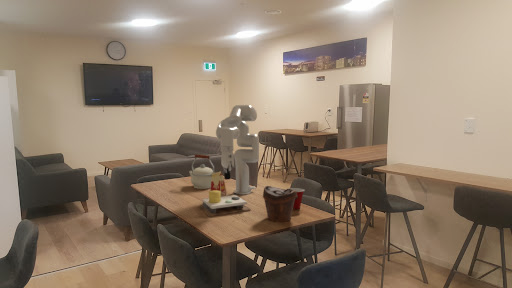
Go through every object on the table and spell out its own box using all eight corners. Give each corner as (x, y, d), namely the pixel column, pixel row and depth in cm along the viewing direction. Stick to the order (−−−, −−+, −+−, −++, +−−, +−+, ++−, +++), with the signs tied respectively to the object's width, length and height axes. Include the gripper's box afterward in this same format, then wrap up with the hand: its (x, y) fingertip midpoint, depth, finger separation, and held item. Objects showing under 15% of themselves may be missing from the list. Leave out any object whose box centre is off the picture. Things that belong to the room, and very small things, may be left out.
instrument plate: (235, 197, 232) (235, 185, 231) (246, 204, 216) (246, 192, 215) (202, 201, 222) (202, 189, 222) (211, 209, 206) (211, 196, 205)
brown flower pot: (303, 221, 196) (303, 189, 194) (268, 225, 191) (268, 192, 189) (290, 212, 213) (290, 182, 211) (258, 215, 208) (258, 185, 206)
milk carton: (227, 199, 241) (227, 170, 239) (220, 203, 233) (219, 172, 230) (215, 198, 245) (215, 169, 242) (208, 201, 237) (207, 171, 234)
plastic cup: (307, 207, 224) (307, 188, 222) (300, 211, 215) (300, 191, 213) (291, 204, 229) (291, 186, 228) (283, 208, 220) (283, 189, 219)
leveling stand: (237, 202, 234) (237, 196, 234) (250, 210, 216) (250, 204, 216) (198, 207, 223) (198, 201, 222) (209, 216, 205) (209, 210, 205)
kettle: (221, 186, 279) (221, 154, 276) (206, 191, 264) (205, 157, 261) (197, 182, 292) (196, 152, 290) (181, 186, 277) (180, 154, 274)
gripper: (237, 149, 208) (237, 181, 210) (228, 147, 221) (228, 176, 223) (225, 150, 205) (225, 182, 207) (216, 147, 218) (217, 177, 220)
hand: (227, 179), depth 215 cm, fingers closed
